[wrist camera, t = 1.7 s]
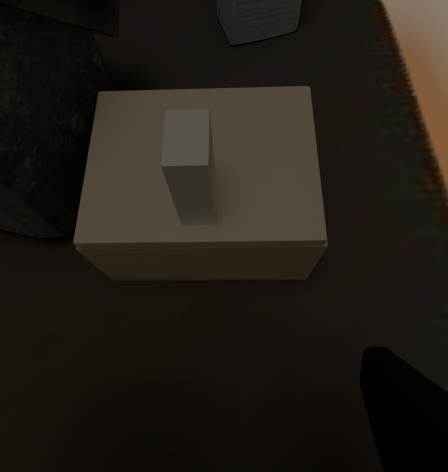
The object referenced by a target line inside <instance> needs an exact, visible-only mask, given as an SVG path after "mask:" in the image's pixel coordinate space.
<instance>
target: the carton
mask: <svg viewBox="0 0 448 472" xmlns="http://www.w3.org/2000/svg"><path fill="white" fill-rule="evenodd" d="M327 247H328V245H327V241H326V243H325V245H281V246H192V247H103V248H78V247H77V246H76V250H77V251H79V252H80V253H81V254H82V255H83V256H85V257H86V258H87V259H88V260H89V261H91V262H92V263H93V264H94V265H95V266H96V267H98V268H99V269H100V270H101V271H102V272H104V273H105V274H106V275H107V276H108V277H110V278H111V279H112V280H113V281H188V280H306V279H307V278H308V276H309V275H310V273H311V272H312V270H313V268H314V267H315V265H316V264H317V262H318V261H319V259H320V258H321V256H322V254H323V253H324V251H325V250H326V248H327Z"/></svg>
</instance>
